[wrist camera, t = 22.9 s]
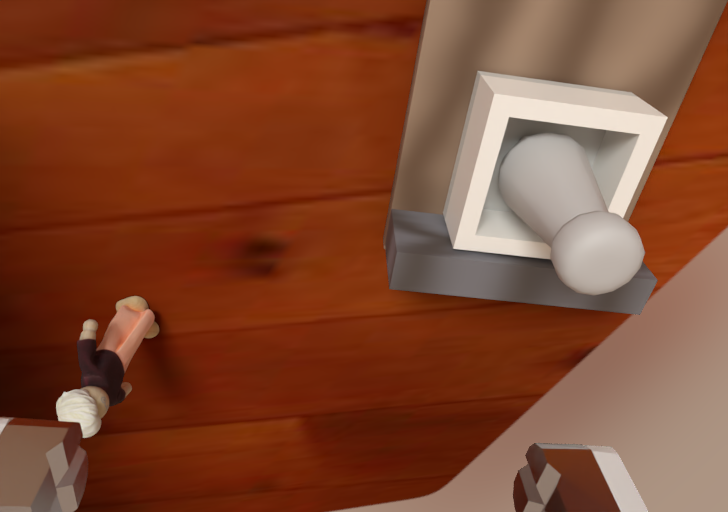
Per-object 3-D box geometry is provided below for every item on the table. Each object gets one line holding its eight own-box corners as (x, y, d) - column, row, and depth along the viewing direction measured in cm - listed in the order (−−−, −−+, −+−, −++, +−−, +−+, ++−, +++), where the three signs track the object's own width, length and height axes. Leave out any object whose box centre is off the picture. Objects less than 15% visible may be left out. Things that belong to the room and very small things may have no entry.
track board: (383, 238, 44) (388, 294, 38) (484, -318, 27) (525, -383, 21) (597, 262, 46) (637, 320, 40) (821, -249, 29) (953, -291, 22)
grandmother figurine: (178, 337, 49) (130, 458, 39) (140, 349, 50) (83, 470, 39) (131, 270, 45) (63, 384, 35) (90, 283, 46) (12, 399, 35)
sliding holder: (442, 213, 41) (453, 248, 37) (477, 70, 35) (494, 93, 31) (577, 228, 42) (602, 265, 38) (631, 92, 36) (667, 117, 32)
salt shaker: (549, 102, 36) (636, 191, 25) (591, 164, 38) (688, 271, 27) (474, 158, 38) (524, 264, 27) (519, 214, 40) (581, 332, 29)
